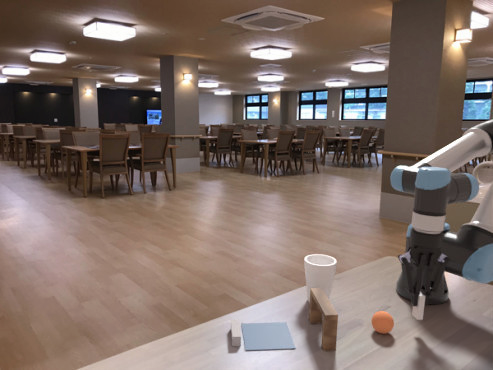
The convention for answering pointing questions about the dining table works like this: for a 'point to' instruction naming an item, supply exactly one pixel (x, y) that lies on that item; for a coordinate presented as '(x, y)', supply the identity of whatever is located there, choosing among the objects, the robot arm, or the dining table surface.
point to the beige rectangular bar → (235, 333)
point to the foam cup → (319, 273)
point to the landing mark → (267, 336)
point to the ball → (382, 322)
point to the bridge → (324, 318)
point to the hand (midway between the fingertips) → (417, 317)
